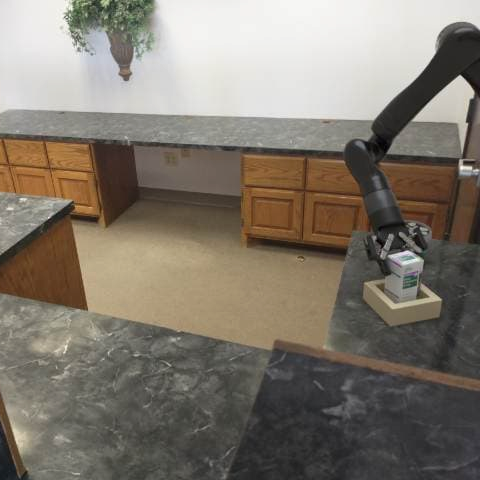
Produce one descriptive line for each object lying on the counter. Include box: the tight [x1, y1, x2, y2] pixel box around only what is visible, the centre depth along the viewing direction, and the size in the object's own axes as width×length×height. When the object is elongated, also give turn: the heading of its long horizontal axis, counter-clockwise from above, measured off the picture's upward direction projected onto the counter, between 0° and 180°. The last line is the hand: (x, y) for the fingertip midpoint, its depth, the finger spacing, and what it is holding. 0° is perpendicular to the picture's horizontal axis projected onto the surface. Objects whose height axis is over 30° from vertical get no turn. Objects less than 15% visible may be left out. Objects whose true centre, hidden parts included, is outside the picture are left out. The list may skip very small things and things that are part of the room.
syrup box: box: [384, 250, 425, 304], centre depth 123 cm, size 6×6×14 cm
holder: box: [362, 278, 443, 328], centre depth 126 cm, size 13×13×5 cm
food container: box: [399, 219, 433, 260], centre depth 144 cm, size 12×6×10 cm, turn 171°
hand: (405, 272), depth 122 cm, fingers open, 8 cm apart
